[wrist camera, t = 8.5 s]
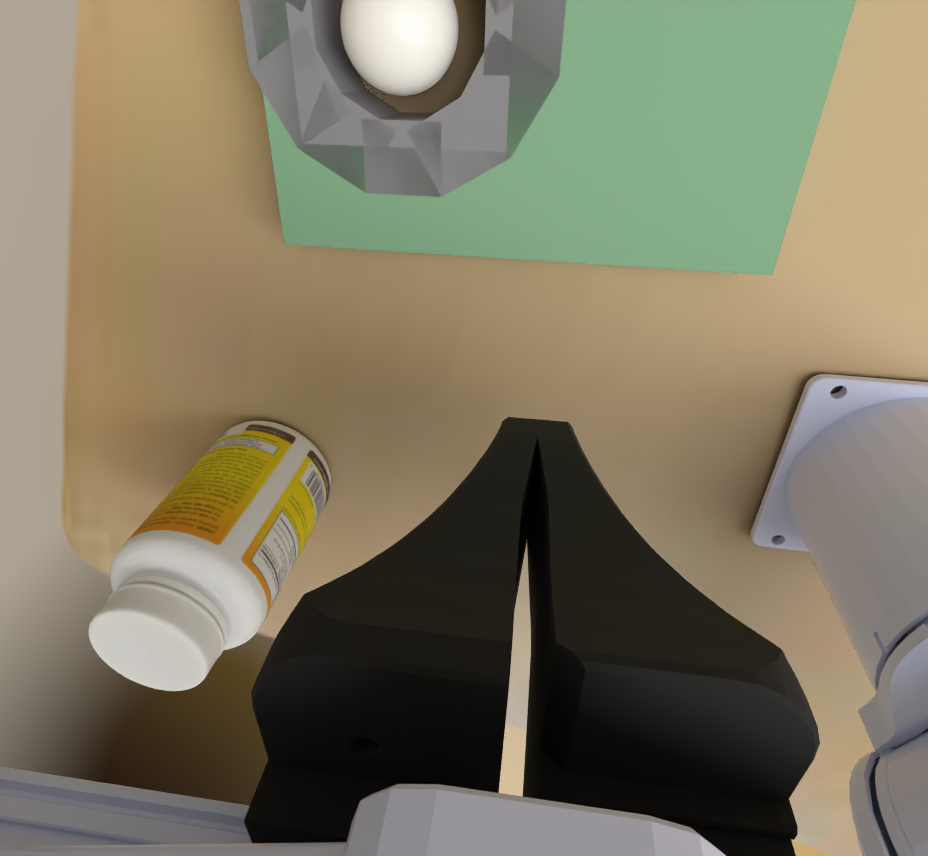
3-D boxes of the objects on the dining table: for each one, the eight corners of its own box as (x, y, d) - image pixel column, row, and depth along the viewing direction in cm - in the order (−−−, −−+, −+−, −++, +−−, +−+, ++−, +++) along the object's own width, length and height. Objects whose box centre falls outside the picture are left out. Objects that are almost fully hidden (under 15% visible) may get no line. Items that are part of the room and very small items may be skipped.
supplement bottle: (197, 454, 28) (31, 632, 19) (268, 392, 25) (114, 566, 17) (285, 529, 30) (170, 723, 21) (360, 479, 27) (264, 676, 18)
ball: (385, -48, 17) (480, -48, 16) (394, 81, 19) (480, 90, 18) (305, -45, 15) (408, -45, 13) (325, 99, 17) (416, 112, 15)
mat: (904, -300, 13) (966, -365, 11) (751, 252, 19) (772, 275, 17) (241, -272, 15) (190, -322, 13) (303, 226, 21) (275, 244, 19)
